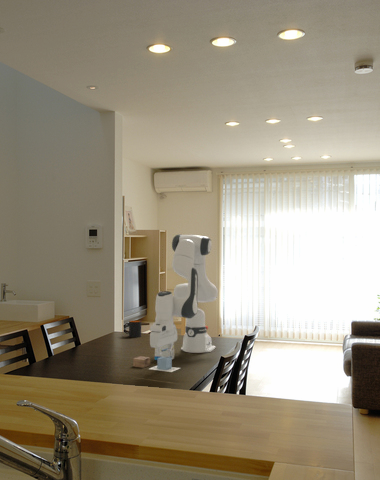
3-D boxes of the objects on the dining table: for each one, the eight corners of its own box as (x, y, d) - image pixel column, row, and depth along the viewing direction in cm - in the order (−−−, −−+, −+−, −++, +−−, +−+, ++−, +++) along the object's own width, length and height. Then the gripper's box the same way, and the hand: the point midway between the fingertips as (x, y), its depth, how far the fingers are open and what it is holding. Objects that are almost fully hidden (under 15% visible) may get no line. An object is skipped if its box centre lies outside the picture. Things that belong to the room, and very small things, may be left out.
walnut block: (139, 364, 243) (140, 356, 243) (150, 365, 240) (150, 357, 240) (133, 366, 237) (133, 358, 238) (143, 368, 235) (143, 359, 235)
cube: (162, 366, 237) (162, 356, 237) (171, 367, 234) (171, 357, 234) (157, 368, 232) (157, 358, 232) (166, 370, 230) (166, 359, 230)
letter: (157, 365, 240) (157, 365, 240) (180, 368, 234) (180, 368, 234) (148, 369, 232) (148, 368, 232) (171, 372, 226) (171, 371, 226)
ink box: (169, 362, 250) (169, 339, 250) (154, 361, 252) (154, 338, 253) (174, 358, 258) (174, 336, 259) (159, 357, 261) (159, 335, 261)
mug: (126, 335, 336) (126, 320, 336) (142, 335, 333) (142, 320, 333) (122, 336, 328) (122, 321, 328) (138, 337, 325) (138, 322, 325)
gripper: (169, 321, 245) (169, 349, 245) (147, 327, 227) (147, 357, 227) (180, 322, 242) (180, 350, 242) (159, 328, 224) (158, 358, 224)
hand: (164, 353), depth 234 cm, fingers open, 8 cm apart
